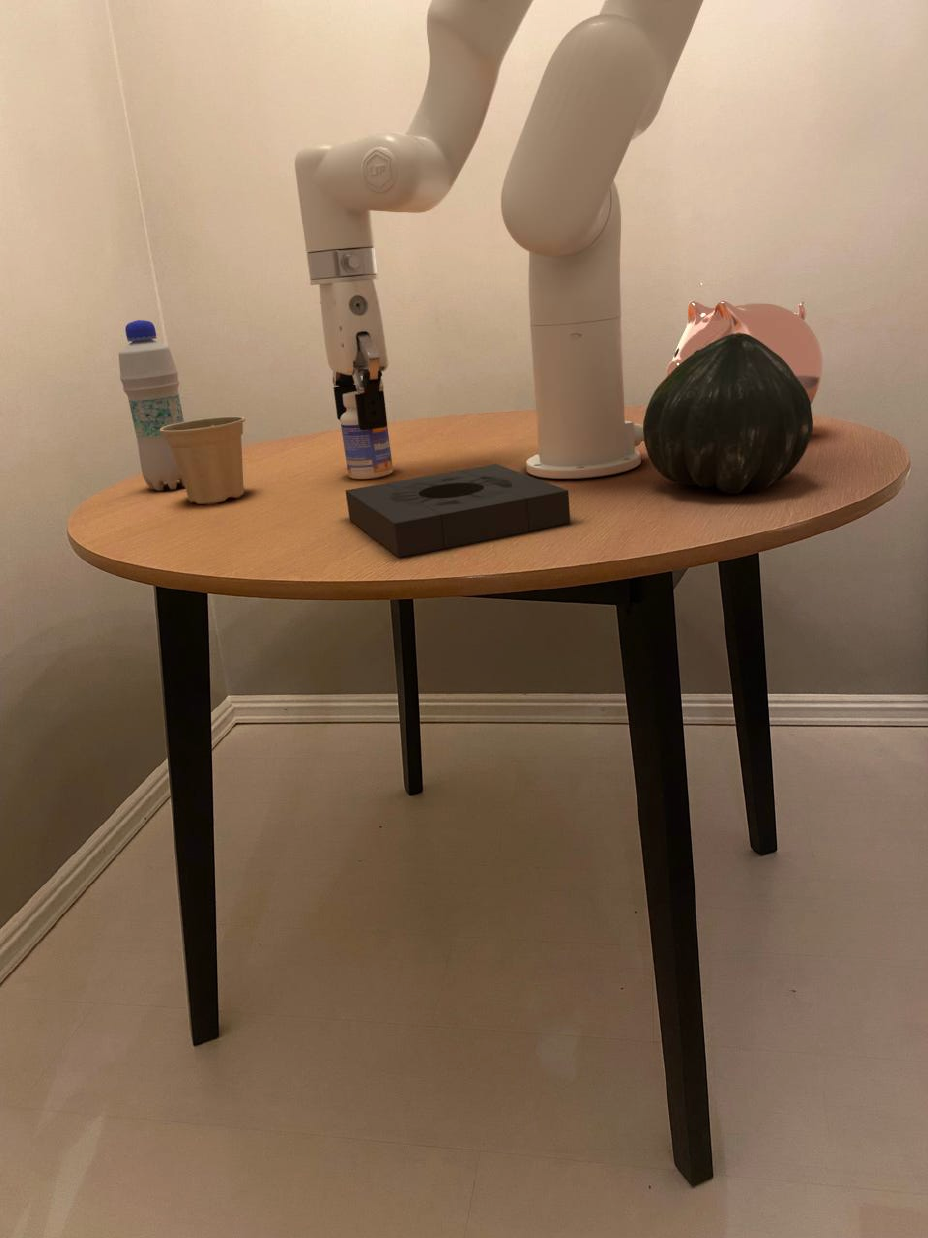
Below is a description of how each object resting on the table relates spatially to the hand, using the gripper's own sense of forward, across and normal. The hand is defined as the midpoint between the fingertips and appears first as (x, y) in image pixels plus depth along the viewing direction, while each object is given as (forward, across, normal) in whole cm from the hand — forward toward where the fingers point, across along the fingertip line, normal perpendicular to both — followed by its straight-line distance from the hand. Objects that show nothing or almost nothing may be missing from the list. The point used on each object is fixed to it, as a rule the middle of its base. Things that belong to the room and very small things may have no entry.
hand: (361, 423), depth 110 cm
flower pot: (+6, +2, +18) cm, 19 cm away
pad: (+6, -28, 0) cm, 29 cm away
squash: (+6, -34, -26) cm, 44 cm away
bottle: (+7, +14, +22) cm, 27 cm away
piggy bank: (+6, -16, -41) cm, 45 cm away
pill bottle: (+6, 0, 0) cm, 6 cm away
